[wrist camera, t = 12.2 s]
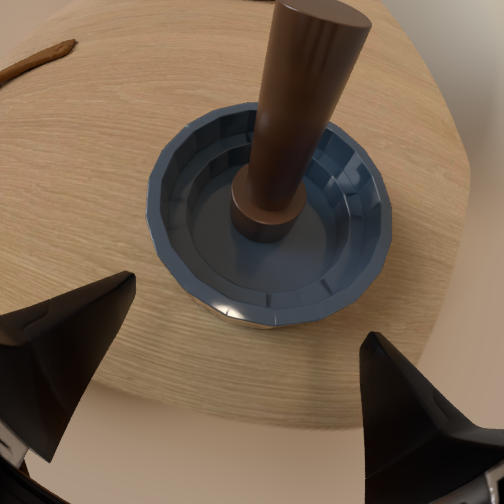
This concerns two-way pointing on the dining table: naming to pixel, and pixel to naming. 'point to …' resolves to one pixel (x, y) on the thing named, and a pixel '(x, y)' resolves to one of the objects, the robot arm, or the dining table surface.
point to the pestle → (294, 110)
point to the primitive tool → (37, 59)
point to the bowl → (273, 253)
